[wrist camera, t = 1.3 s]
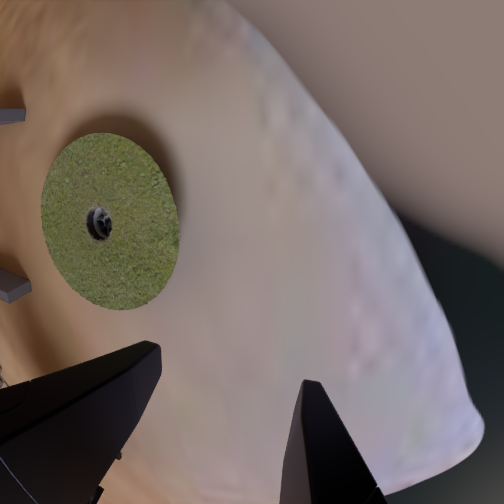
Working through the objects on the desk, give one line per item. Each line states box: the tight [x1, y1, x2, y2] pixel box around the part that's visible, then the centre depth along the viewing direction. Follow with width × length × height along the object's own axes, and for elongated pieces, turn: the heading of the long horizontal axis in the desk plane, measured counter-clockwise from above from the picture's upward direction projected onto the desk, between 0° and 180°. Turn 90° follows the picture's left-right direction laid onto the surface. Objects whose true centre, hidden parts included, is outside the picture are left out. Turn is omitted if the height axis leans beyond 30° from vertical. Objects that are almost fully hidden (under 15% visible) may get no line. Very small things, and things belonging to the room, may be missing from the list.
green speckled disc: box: [41, 132, 180, 310], centre depth 18 cm, size 11×11×2 cm
